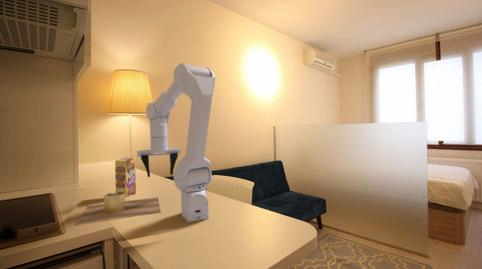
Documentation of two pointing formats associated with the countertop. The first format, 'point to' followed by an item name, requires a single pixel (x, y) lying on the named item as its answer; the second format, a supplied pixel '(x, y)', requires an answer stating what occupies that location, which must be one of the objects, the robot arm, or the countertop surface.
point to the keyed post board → (132, 209)
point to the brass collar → (114, 203)
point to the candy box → (125, 176)
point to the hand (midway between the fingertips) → (160, 175)
